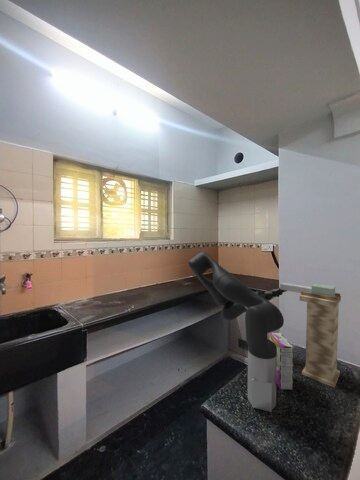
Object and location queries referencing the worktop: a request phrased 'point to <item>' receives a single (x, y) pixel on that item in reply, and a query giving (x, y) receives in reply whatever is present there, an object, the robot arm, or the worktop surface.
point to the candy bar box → (283, 361)
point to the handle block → (310, 289)
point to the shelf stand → (321, 337)
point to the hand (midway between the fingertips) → (285, 289)
